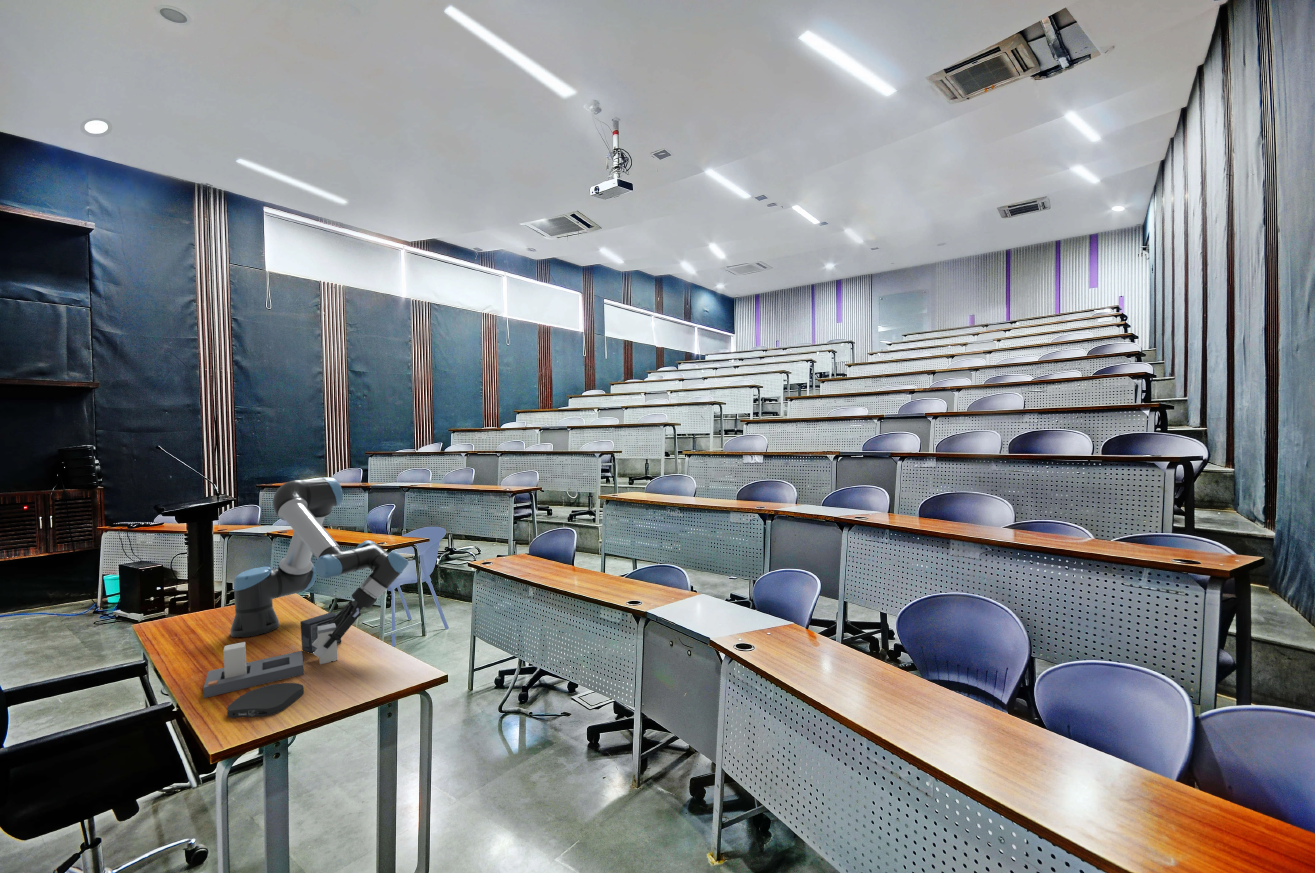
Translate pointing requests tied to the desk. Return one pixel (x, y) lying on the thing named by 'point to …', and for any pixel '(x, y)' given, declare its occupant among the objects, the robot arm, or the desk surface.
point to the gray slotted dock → (250, 670)
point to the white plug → (322, 635)
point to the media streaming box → (265, 700)
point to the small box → (313, 630)
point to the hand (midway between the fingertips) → (316, 650)
